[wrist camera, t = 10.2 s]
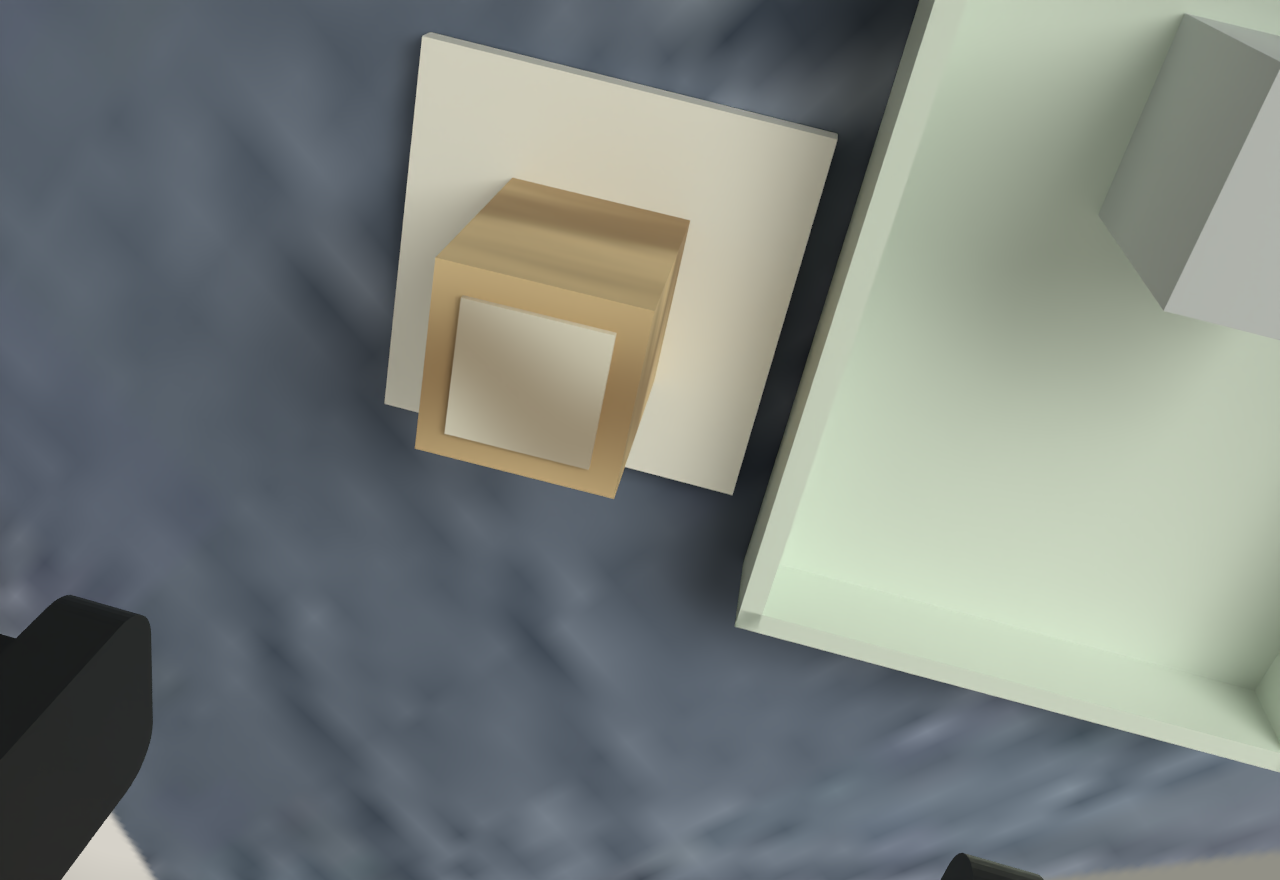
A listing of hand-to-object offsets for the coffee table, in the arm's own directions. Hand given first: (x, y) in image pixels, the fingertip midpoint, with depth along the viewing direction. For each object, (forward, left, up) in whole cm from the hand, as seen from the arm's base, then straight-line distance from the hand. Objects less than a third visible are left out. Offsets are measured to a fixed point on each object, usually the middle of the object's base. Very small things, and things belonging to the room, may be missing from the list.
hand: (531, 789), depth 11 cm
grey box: (-5, +11, -19) cm, 22 cm away
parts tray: (0, +11, -19) cm, 22 cm away
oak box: (+3, -3, -19) cm, 19 cm away
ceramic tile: (+2, -3, -19) cm, 20 cm away
